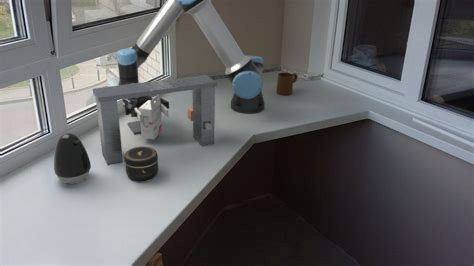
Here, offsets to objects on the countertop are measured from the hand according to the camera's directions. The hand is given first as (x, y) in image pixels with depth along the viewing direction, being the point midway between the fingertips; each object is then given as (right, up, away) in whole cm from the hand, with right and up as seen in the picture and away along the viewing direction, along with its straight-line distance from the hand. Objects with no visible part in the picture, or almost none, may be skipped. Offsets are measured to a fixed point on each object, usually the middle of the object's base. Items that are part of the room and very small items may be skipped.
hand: (154, 115), depth 144 cm
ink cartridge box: (-2, -7, +8) cm, 10 cm away
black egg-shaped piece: (-20, -20, -18) cm, 34 cm away
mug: (+54, +14, +60) cm, 82 cm away
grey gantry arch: (+2, -12, +1) cm, 12 cm away
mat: (-8, -4, +17) cm, 19 cm away
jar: (-1, -19, -15) cm, 24 cm away
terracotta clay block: (+16, -3, +7) cm, 17 cm away
